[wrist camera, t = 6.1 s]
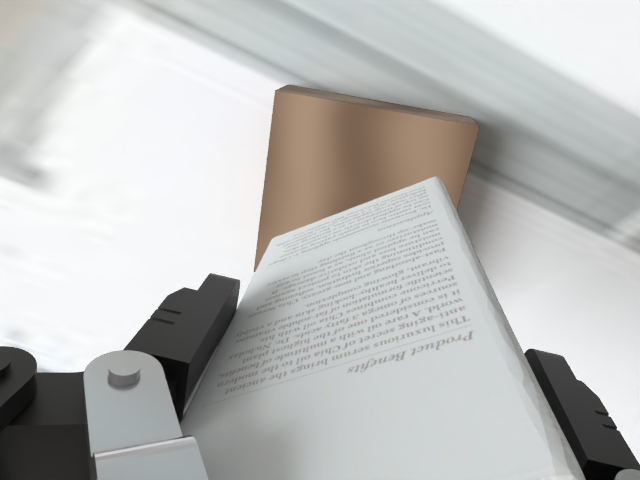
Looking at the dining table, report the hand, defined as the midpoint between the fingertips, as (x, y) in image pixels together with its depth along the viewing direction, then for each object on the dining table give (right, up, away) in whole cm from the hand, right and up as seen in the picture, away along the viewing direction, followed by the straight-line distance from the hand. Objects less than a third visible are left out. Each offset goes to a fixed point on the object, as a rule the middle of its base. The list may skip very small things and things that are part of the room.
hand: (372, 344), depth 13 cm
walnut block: (+1, +6, +20) cm, 21 cm away
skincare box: (+1, +2, +5) cm, 5 cm away
